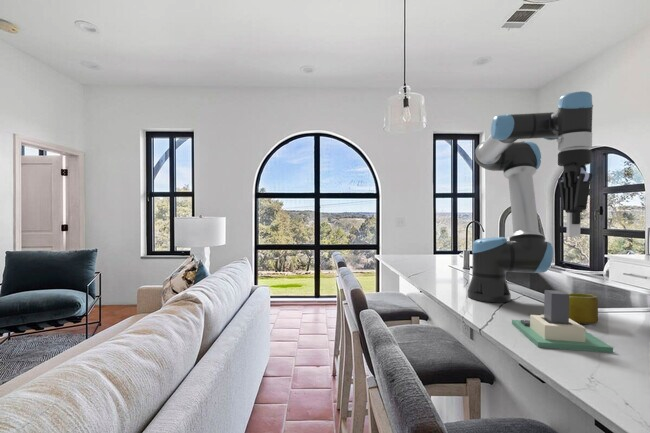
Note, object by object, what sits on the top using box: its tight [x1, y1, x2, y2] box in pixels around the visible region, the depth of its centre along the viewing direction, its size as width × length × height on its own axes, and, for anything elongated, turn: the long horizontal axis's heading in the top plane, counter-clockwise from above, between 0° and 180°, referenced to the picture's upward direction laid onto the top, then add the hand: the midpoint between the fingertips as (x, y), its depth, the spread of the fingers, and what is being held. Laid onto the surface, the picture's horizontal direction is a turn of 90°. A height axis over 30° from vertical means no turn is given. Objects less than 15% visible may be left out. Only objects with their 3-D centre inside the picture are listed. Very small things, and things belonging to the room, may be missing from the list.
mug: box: [566, 292, 599, 325], centre depth 104 cm, size 12×10×10 cm
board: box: [511, 313, 614, 354], centre depth 90 cm, size 18×16×5 cm
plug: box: [543, 289, 570, 325], centre depth 88 cm, size 4×4×11 cm
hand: (573, 236), depth 93 cm, fingers closed
